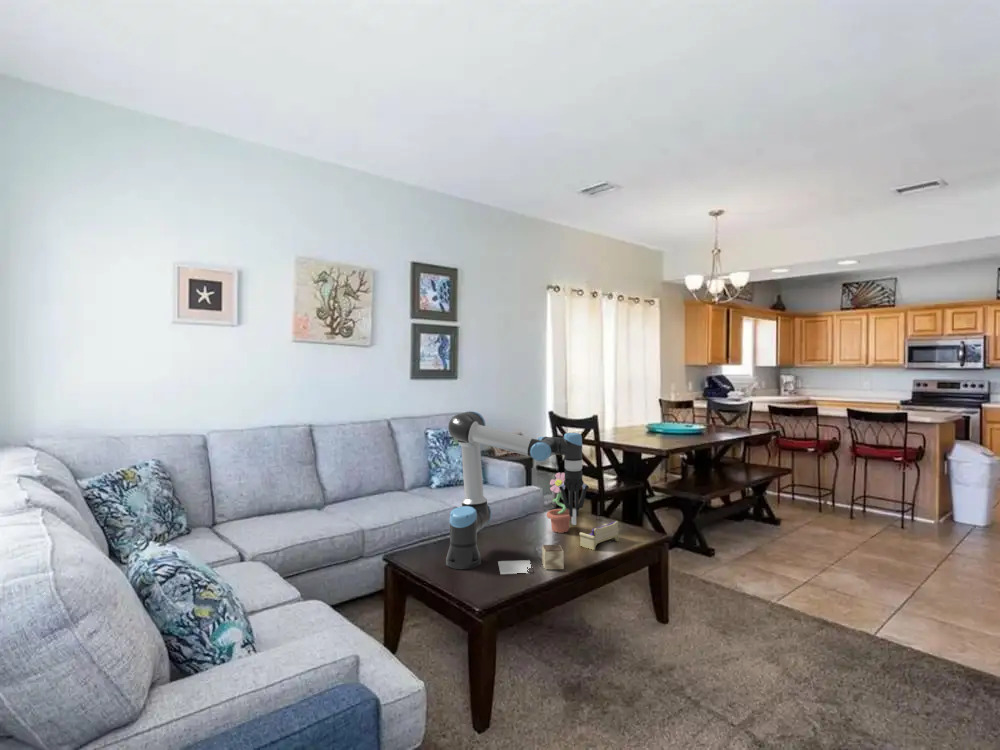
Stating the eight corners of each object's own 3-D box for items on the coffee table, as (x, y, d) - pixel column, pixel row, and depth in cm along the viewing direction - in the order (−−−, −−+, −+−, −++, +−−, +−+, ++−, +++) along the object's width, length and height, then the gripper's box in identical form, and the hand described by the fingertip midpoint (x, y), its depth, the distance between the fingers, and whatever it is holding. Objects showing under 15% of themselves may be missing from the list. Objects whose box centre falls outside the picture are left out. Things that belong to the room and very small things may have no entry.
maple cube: (544, 570, 235) (544, 551, 235) (541, 563, 243) (541, 544, 243) (563, 569, 236) (563, 550, 236) (560, 562, 244) (560, 544, 244)
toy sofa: (605, 536, 279) (605, 516, 279) (619, 541, 273) (620, 520, 272) (578, 546, 265) (578, 525, 264) (593, 551, 258) (593, 529, 258)
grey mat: (500, 574, 231) (500, 573, 231) (497, 561, 245) (497, 561, 245) (534, 573, 232) (534, 572, 232) (529, 560, 246) (529, 560, 246)
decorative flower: (539, 529, 290) (539, 472, 289) (559, 524, 299) (559, 468, 298) (559, 536, 278) (559, 477, 277) (579, 531, 287) (579, 473, 286)
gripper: (586, 467, 243) (586, 520, 244) (556, 468, 242) (557, 522, 243) (590, 470, 236) (590, 526, 237) (560, 471, 235) (560, 527, 236)
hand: (573, 524), depth 240 cm, fingers closed
